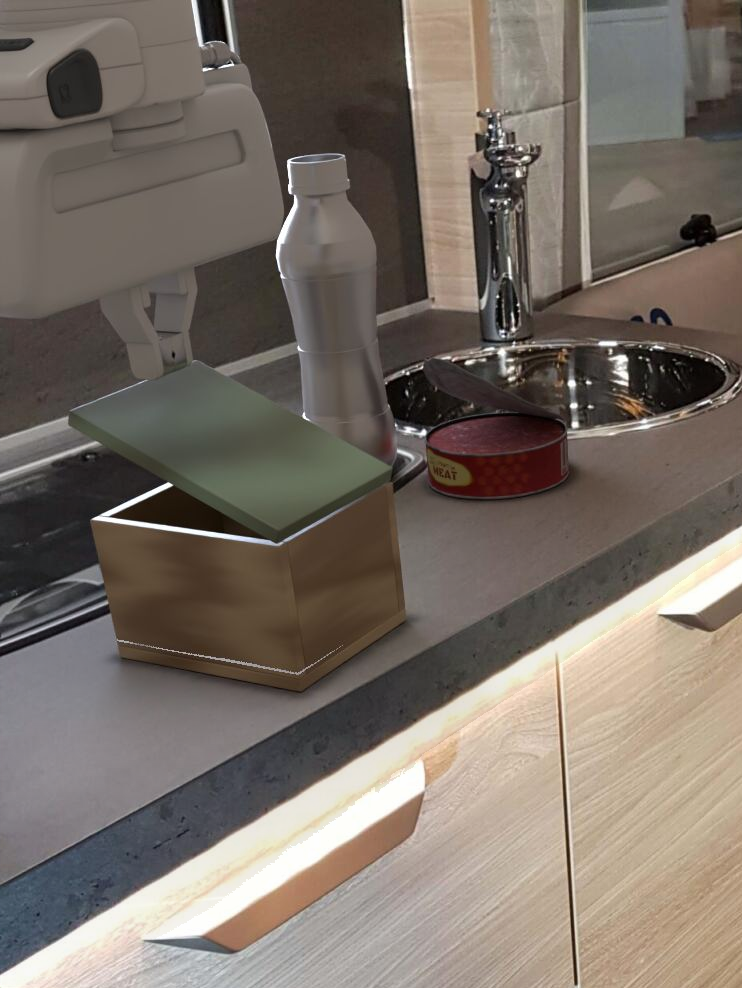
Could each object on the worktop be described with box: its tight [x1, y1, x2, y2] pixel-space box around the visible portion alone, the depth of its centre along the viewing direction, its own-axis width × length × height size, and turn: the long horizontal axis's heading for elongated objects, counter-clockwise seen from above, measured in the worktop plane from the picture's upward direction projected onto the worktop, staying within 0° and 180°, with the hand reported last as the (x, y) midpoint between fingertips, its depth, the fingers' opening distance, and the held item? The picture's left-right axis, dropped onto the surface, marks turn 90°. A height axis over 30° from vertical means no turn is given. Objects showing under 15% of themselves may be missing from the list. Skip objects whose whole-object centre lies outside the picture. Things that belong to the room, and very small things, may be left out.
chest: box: [89, 482, 408, 692], centre depth 84 cm, size 12×10×8 cm
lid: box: [67, 359, 394, 544], centre depth 80 cm, size 13×10×1 cm
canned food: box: [422, 357, 570, 500], centre depth 106 cm, size 11×10×10 cm
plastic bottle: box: [275, 153, 399, 468], centre depth 103 cm, size 6×7×20 cm
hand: (163, 372), depth 80 cm, fingers closed
